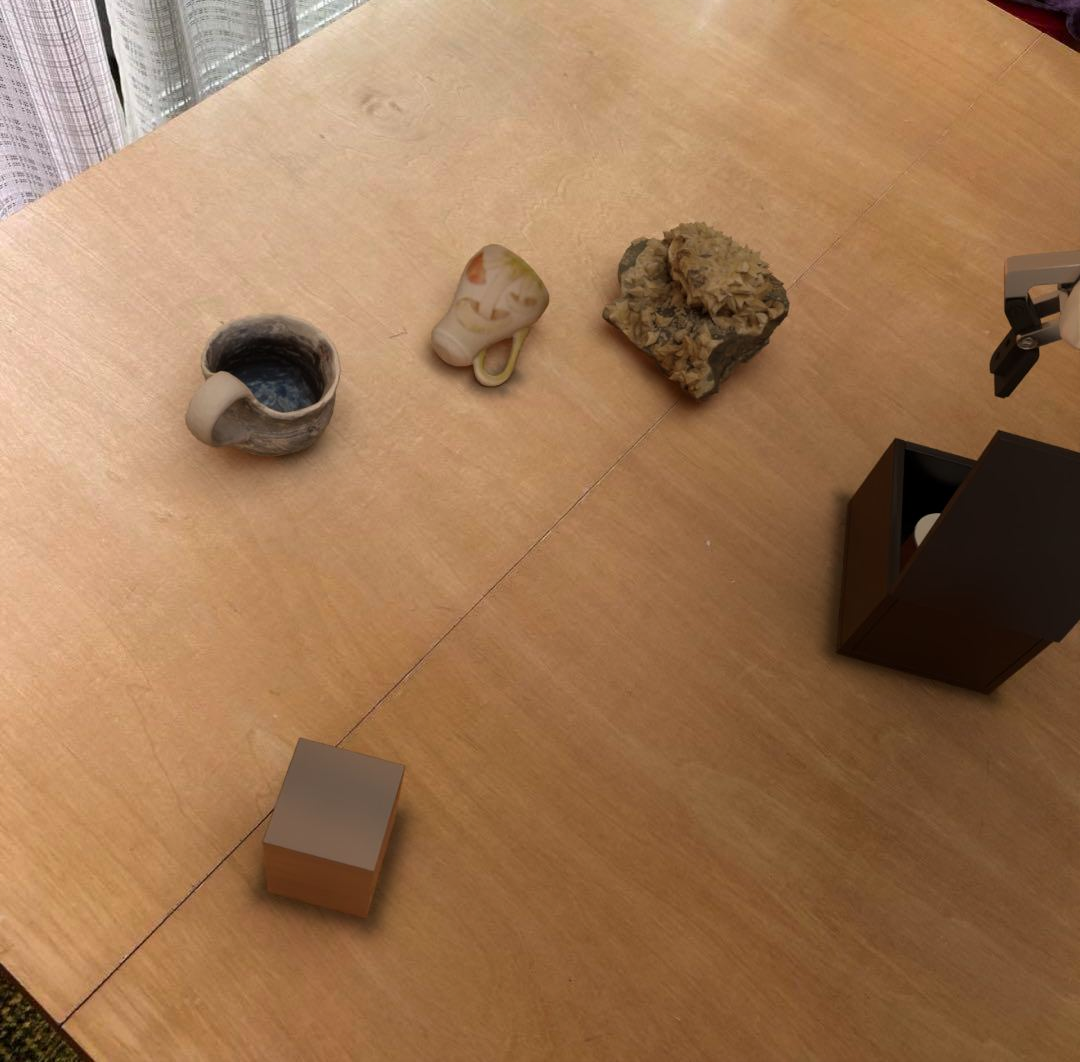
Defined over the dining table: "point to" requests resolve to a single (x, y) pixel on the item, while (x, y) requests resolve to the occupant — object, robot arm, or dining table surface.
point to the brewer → (873, 566)
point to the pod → (916, 538)
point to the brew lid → (1006, 542)
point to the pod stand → (331, 827)
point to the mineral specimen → (696, 305)
